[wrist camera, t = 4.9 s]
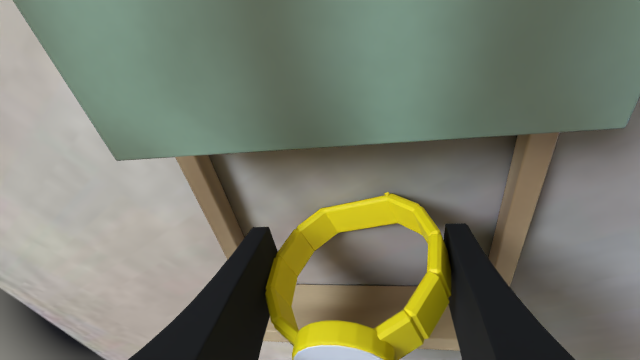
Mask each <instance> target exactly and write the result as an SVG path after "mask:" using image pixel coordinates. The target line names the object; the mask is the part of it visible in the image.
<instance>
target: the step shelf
mask: <svg viewBox="0 0 640 360" xmlns="http://www.w3.org/2000/svg"><path fill="white" fill-rule="evenodd" d="M13 1H14V3H15V5H16V6H17V8H18V9H19V11H20V12H21V14H22V15H23V17H24V18H25V20H26V22H27V23H28V25H29V26H30V28H31V29H32V31H33V32H34V34H35V36H36V37H37V39H38V40H39V42H40V43H41V45H42V46H43V48H44V49H45V51H46V53H47V54H48V56H49V57H50V59H51V60H52V62H53V63H54V65H55V66H56V68H57V70H58V71H59V73H60V74H61V76H62V77H63V79H64V80H65V82H66V84H67V85H68V87H69V88H70V90H71V91H72V93H73V94H74V96H75V97H76V99H77V101H78V102H79V104H80V105H81V107H82V108H83V110H84V111H85V113H86V114H87V116H88V118H89V119H90V121H91V122H92V124H93V125H94V127H95V128H96V130H97V132H98V133H99V135H100V136H101V138H102V139H103V141H104V142H105V144H106V145H107V147H108V149H109V150H110V152H111V153H112V155H113V156H114V158H115V159H116V160H117V161H121V160H137V159H152V158H168V157H175V158H176V160H177V162H178V163H179V165H180V167H181V169H182V171H183V173H184V175H185V177H186V179H187V181H188V183H189V185H190V187H191V189H192V191H193V193H194V195H195V197H196V199H197V201H198V203H199V205H200V207H201V209H202V211H203V213H204V214H205V216H206V218H207V220H208V222H209V224H210V226H211V228H212V230H213V232H214V234H215V236H216V238H217V240H218V242H219V244H220V246H221V248H222V250H223V252H224V254H225V256H226V258H227V260H228V259H229V258H230V256H231V255H232V254H233V252H234V251H235V250H236V249H237V247H238V246H239V245H240V243H241V242H242V241H243V239H244V236H243V234H242V232H241V229H240V227H239V225H238V222H237V220H236V218H235V216H234V213H233V211H232V209H231V206H230V204H229V202H228V200H227V197H226V195H225V193H224V190H223V188H222V186H221V183H220V181H219V179H218V177H217V174H216V172H215V170H214V167H213V165H212V163H211V160H210V158H209V156H208V155H215V154H230V153H246V152H262V151H277V150H293V149H309V148H324V147H340V146H356V145H371V144H387V143H403V142H418V141H434V140H449V139H465V138H481V137H496V136H512V135H518V136H517V140H516V145H515V149H514V153H513V157H512V161H511V166H510V170H509V174H508V178H507V183H506V187H505V191H504V195H503V199H502V204H501V208H500V212H499V216H498V221H497V225H496V229H495V233H494V237H493V242H492V246H491V250H490V254H489V260H490V261H491V263H492V264H493V265H494V267H495V268H496V270H497V271H498V272H499V274H500V275H501V276H502V278H503V279H504V280H505V282H506V283H507V284H508V286H509V287H510V285H511V282H512V279H513V276H514V272H515V269H516V266H517V263H518V260H519V257H520V254H521V251H522V248H523V245H524V242H525V239H526V235H527V232H528V229H529V226H530V223H531V220H532V217H533V214H534V211H535V208H536V205H537V202H538V198H539V195H540V192H541V189H542V186H543V183H544V180H545V177H546V174H547V171H548V168H549V165H550V161H551V158H552V155H553V152H554V149H555V146H556V143H557V140H558V137H559V134H560V132H575V131H590V130H606V129H622V128H625V127H626V126H627V123H628V121H629V119H630V117H631V115H632V113H633V110H634V108H635V106H636V104H637V102H638V99H639V97H640V0H13ZM417 287H418V286H361V285H296V287H295V292H294V296H293V301H292V306H291V307H292V310H293V313H294V317H295V320H296V324H297V327H298V330H300V329H301V328H302V327H304V326H306V325H308V324H310V323H314V322H319V321H325V320H340V321H347V322H353V323H358V324H361V325H364V326H367V327H370V328H375V327H376V326H378V325H379V324H381V323H383V322H384V321H386V320H387V319H389V318H391V317H392V316H394V315H395V314H397V313H398V312H400V311H402V310H404V308H405V306H406V304H407V303H408V301H409V300H410V298H411V296H412V295H413V293H414V292H415V290H416V289H417ZM263 341H274V342H289V341H288V340H287V339H286V338H285V337H283V336H282V335H281V334H280V333H279V332H278V331H277V330H276V329H275V328H274V325H273V324H272V323H271V319H270V318H269V321H268V325H267V328H266V332H265V335H264V339H263ZM416 349H437V350H457V351H460V348H459V344H458V340H457V336H456V332H455V329H454V325H453V321H452V317H451V313H450V309H449V305H448V306H447V307H446V309H445V311H444V313H443V314H442V316H441V318H440V320H439V321H438V323H437V325H436V326H435V328H434V330H433V332H432V333H431V335H430V337H429V338H428V339H424V343H423V344H422V345H421V346H419V347H418V348H416Z"/></svg>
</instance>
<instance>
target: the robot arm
mask: <svg viewBox="0 0 640 360" xmlns="http://www.w3.org/2000/svg"><path fill="white" fill-rule="evenodd" d="M444 243H445V246H446V248H447V251H448V254H449V260H450V266H451V296H450V297H449V298H448V299H449V304H448V305H449V309H450V313H451V317H452V321H453V325H454V329H455V332H456V336H457V340H458V344H459V348H460V352H461V356H462V360H575V359H574V358H573V357H572V356H571V355H570V354H569V353H568V352H567V351H566V350H565V349H564V348H563V347H562V346H561V345H560V344H559V343H558V342H557V341H556V340H555V339H554V338H553V337H552V335H551V334H550V333H549V332H548V331H547V330H546V329H545V328H544V327H543V326H542V325H541V324H540V323H539V321H538V320H537V319H536V318H535V317H534V316H533V315H532V313H531V312H530V311H529V310H528V309H527V308H526V306H525V305H524V304H523V303H522V302H521V300H520V299H519V298H518V297H517V296H516V294H515V293H514V292H513V291H512V289H511V288H510V287H509V286H508V284H507V283H506V282H505V280H504V279H503V278H502V276H501V275H500V274H499V272H498V271H497V270H496V268H495V267H494V265H493V264H492V263H491V261H490V260H489V258H488V257H487V255H486V254H485V252H484V251H483V250H482V248H481V246H480V245H479V243H478V242H477V240H476V239H475V237H474V235H473V234H472V232H471V230H470V228H469V227H468V226H467V225H466V224H445V233H444ZM277 252H278V251H277V249H276V246H275V243H274V240H273V238H272V235H271V232H270V229H269V227H253V228H252V229H251V230H250V232H249V233H248V234H247V235H246V237H245V238H244V239H243V241H242V242H241V243H240V245H239V246H238V247H237V249H236V250H235V251H234V252H233V254H232V255H231V256H230V258H229V259H228V260H227V261H226V263H225V264H224V265H223V266H222V267H221V269H220V270H219V271H218V272H217V274H216V275H215V276H214V277H213V278H212V280H211V281H210V282H209V283H208V284H207V285H206V286H205V288H204V289H203V290H202V291H201V292H200V293H199V294H198V295H197V297H196V298H195V299H194V300H193V301H192V302H191V303H190V304H189V305H188V306H187V307H186V308H185V309H184V310H183V311H182V312H181V313H180V314H179V315H178V316H177V317H176V318H175V319H174V320H173V321H172V322H171V323H170V324H169V325H168V326H167V327H166V328H164V329H163V330H162V331H161V332H160V333H159V334H158V335H157V336H156V337H154V338H153V339H152V340H151V341H150V342H149V343H148V344H146V345H145V346H144V347H143V348H142V349H141V350H139V351H138V352H137V353H136V354H134V355H133V356H132V357H131V358H129V359H128V360H258V358H259V354H260V350H261V346H262V342H263V339H264V335H265V332H266V328H267V325H268V321H269V318H270V314H269V310H268V305H267V301H266V296H265V292H266V291H267V290H266V289H265V288H266V285H267V281H268V278H269V274H270V271H271V267H272V264H273V260H274V258H276V254H277Z"/></svg>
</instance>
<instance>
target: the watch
mask: <svg viewBox="0 0 640 360" xmlns="http://www.w3.org/2000/svg"><path fill="white" fill-rule="evenodd" d="M384 194H385V195H384V196H379V197H374V198H370V199H365V200H360V201H355V202H350V203H346V204H341V205H336V206H331V207H326V208H321V209H320V210H318V211H317V212H316V213H314V214H313V215H312V216H310V217H309V218H308V219H306V220H305V221H304V222H302V223H301V224H300V225H298V226H297V229H294V230H293V232H292V233H291V235H290V236H289V237H288V239H287V240H286V241H285V243H284V244H283V245H282V247H281V248H280V250H279V251H278V252H277V254H276V258H274V260H273V264H272V267H271V271H270V274H269V278H268V281H267V285H266V288H265V289H266V290H267V291H266V292H265V296H266V301H267V305H268V310H269V314H270V319H271V323H272V324H273V325H274V328H275V329H276V330H277V331H278V332H279V333H280V334H281V335H282V336H283V337H285V338H286V339H287V340H288V341H289V342H290V343H291V344H292V345H293V346H294V348H293V353H292V360H399V359H401V358H402V357H404V356H405V355H407V354H408V353H410V352H412V351H413V350H415V349H416V348H418V347H419V346H421V345H422V344H423V343H424V339H428V338H429V337H430V335H431V333H432V332H433V330H434V328H435V326H436V325H437V323H438V321H439V320H440V318H441V316H442V314H443V313H444V311H445V309H446V307H447V306H448V304H449V299H448V298H449V297H450V296H451V266H450V260H449V254H448V251H447V248H446V246H445V243H444V240H443V238H442V235H441V232H440V230H439V229H438V227H437V226H436V225H435V223H434V222H433V220H432V219H431V218H430V216H429V215H428V213H427V212H426V211H425V209H424V208H423V207H420V205H419V204H418V203H415V202H413V201H410V200H408V199H405V198H403V197H400V196H398V195H395V194H389V192H387V193H384ZM395 223H399V224H401V225H403V226H405V227H407V228H409V229H411V230H413V231H415V232H417V233H419V234H421V235H423V237H424V238H425V240H426V241H427V243H428V263H427V273H426V274H425V276H424V278H423V279H422V281H421V282H420V284H419V285H418V287H417V289H416V290H415V292H414V293H413V295H412V296H411V298H410V300H409V301H408V303H407V304H406V306H405V308H404V310H402V311H400V312H398V313H397V314H395V315H394V316H392V317H391V318H389V319H387V320H386V321H384V322H383V323H381V324H379V325H378V326H376V327H375V328H370V327H367V326H364V325H361V324H358V323H353V322H347V321H340V320H325V321H319V322H314V323H310V324H308V325H306V326H304V327H302V328H301V329H300V330H298V327H297V324H296V320H295V317H294V313H293V310H292V307H291V306H292V301H293V296H294V292H295V287H296V282H297V277H298V275H299V274H300V272H301V271H302V269H303V268H304V266H305V265H306V263H307V262H308V260H309V259H310V257H311V256H312V254H313V253H314V251H316V250H317V249H318V248H319V247H321V246H322V245H323V244H325V243H326V242H327V241H328V240H330V239H331V238H332V237H334V236H335V235H336V234H337V233H341V232H347V231H353V230H359V229H365V228H371V227H377V226H383V225H389V224H395Z"/></svg>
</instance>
